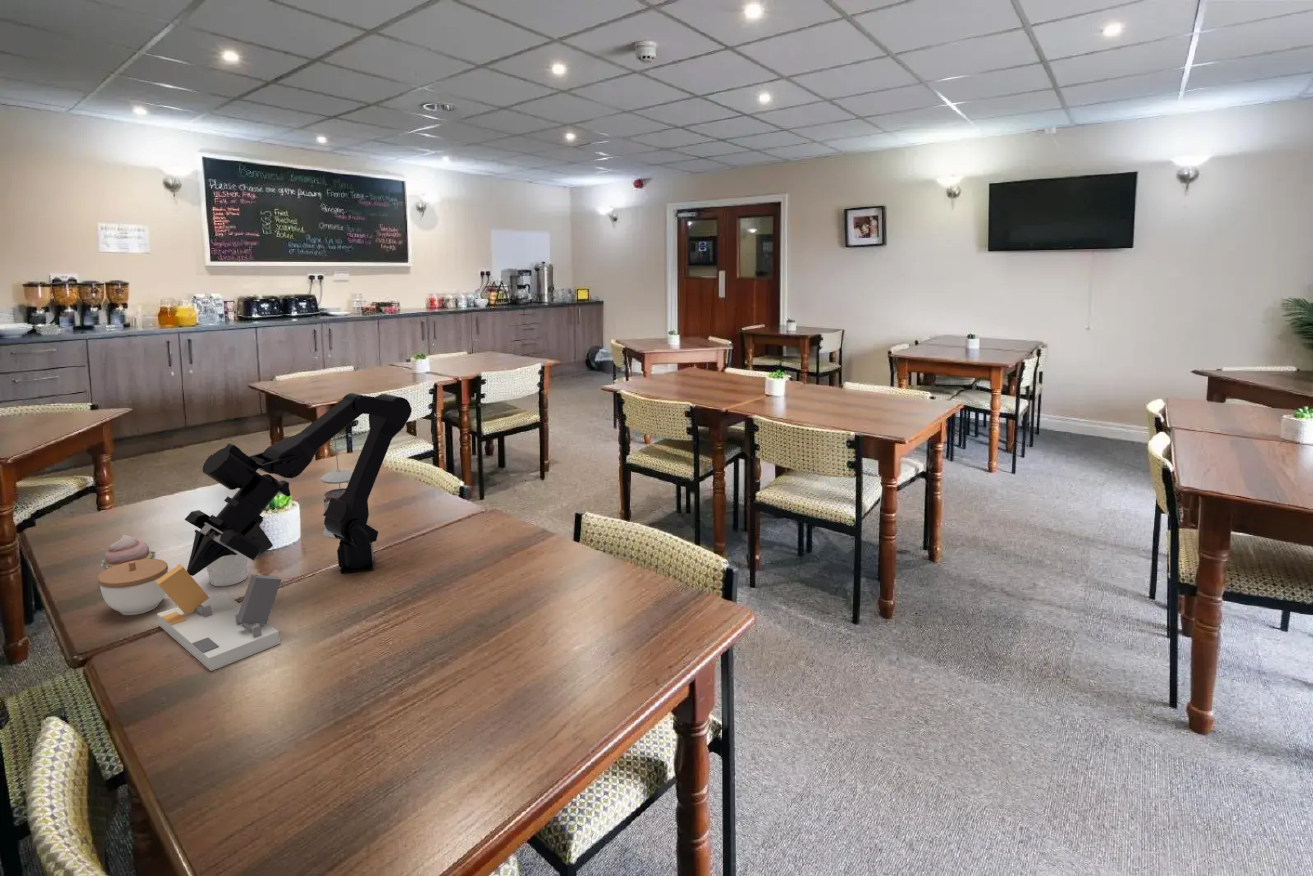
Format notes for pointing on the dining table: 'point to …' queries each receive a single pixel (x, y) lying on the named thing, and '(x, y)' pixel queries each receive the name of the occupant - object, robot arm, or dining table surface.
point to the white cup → (228, 570)
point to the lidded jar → (133, 586)
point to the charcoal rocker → (258, 600)
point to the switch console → (217, 632)
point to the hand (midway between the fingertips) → (189, 574)
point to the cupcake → (126, 552)
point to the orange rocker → (183, 590)
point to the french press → (335, 478)
